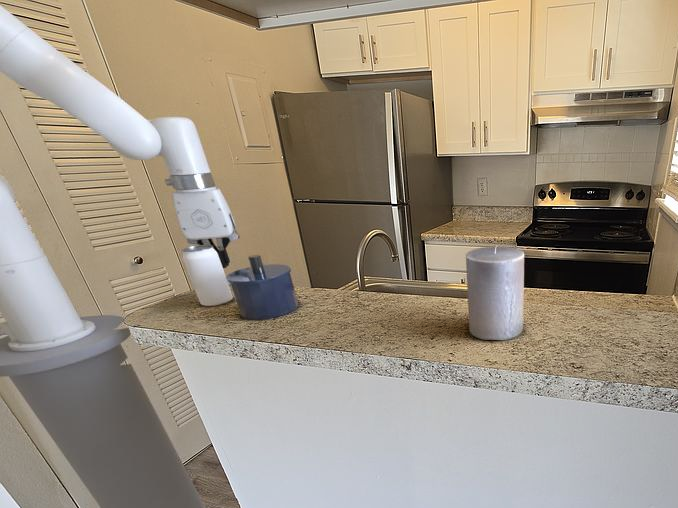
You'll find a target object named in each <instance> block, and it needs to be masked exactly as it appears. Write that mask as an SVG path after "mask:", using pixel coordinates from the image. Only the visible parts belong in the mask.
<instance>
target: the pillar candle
mask: <svg viewBox="0 0 678 508" xmlns="http://www.w3.org/2000/svg"><path fill="white" fill-rule="evenodd" d="M524 252H525V251H523V250H521V249H518V248H516V247H509V246H498V245H497V244H495V246H485V247H484V246H483V247H477V248H475V249H471V250H469V251H468V252H466V254H465V265H466V285H467V286H466V289H467V309H468V330H469V333H470V334H471V335H472V336H474V337H475V338H478V339H480V340H486V341H488V340H489V341H490V340H491V341H492V340H493V341H506V340H510V339H513V338H516V337H518V336H519V335H520V334H522V332H523V330H524V295H525V294H524V293H525V292H524V290H525V289H524V288H525V253H524Z"/></svg>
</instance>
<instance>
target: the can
mask: <svg viewBox="0 0 678 508" xmlns="http://www.w3.org/2000/svg"><path fill="white" fill-rule="evenodd" d="M181 251H182V261H183V263H184V266H185V269H186V272H187V274H188V276H189V279H190V282H191V284H192V287H193V289H194V292H195V294H196V297H197V299H198V301H199V304H200V305H202V306H204V307H216V306H217V307H218V306H221V305H225V304H227V303H230V302H231V301H232V300H233V299H234V297H233V296H234V295H233V292H232V289H231V286H230V283H229V282H228V281H227V280H226V276H227V275H226V273H225V270H224V268H223V267H222V264H221V261H220V258H219V256H218V253H217V252H216V251H215V250H214V249H213V246H212V245H192V246H188V247H183V248H182V249H181Z"/></svg>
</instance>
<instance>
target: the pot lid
mask: <svg viewBox="0 0 678 508" xmlns="http://www.w3.org/2000/svg"><path fill="white" fill-rule="evenodd" d="M247 259H248V262H249V265H250V266H249V267H248V266H247V267H244V268H241V269H237V270H235V271H233V272H230V273H229V274H227V275H225V276H226V280H227V281H228V283H229V284H230V283H234V284H252V283H260V282H266V281H270V280H274V279H278V278H281V277H283V276H285V275H287V274H289V273H290V274H291V271H292V269H291V266H289V265H287V264H286V265H285V264H276V263H275V264H264V263H263V260H262V257H261V255H260V254H251V255H248V256H247Z"/></svg>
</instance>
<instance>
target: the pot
mask: <svg viewBox="0 0 678 508" xmlns="http://www.w3.org/2000/svg"><path fill="white" fill-rule="evenodd" d="M229 286H230V289H231V292H232V295H233V296H234V299H235V302H236V305H237V308H238V311H239V313H240V316H241V317H242V318H244V319H247V320H255V321H256V320H259V321H260V320H269V319H273V318H278V317H282V316H284V315H287V314H289V313H291V312H293V311H295V310H296V309H297V308H298V306H299V303H298V302H299V301H298V298H297V294H296V291H295V285H294V283H293V279H292V275H291V272H290V273H289V274H287V275H285V276H283V277H281V278H278V279H274V280H270V281H266V282H260V283H252V284H234V283H230V282H229Z"/></svg>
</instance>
